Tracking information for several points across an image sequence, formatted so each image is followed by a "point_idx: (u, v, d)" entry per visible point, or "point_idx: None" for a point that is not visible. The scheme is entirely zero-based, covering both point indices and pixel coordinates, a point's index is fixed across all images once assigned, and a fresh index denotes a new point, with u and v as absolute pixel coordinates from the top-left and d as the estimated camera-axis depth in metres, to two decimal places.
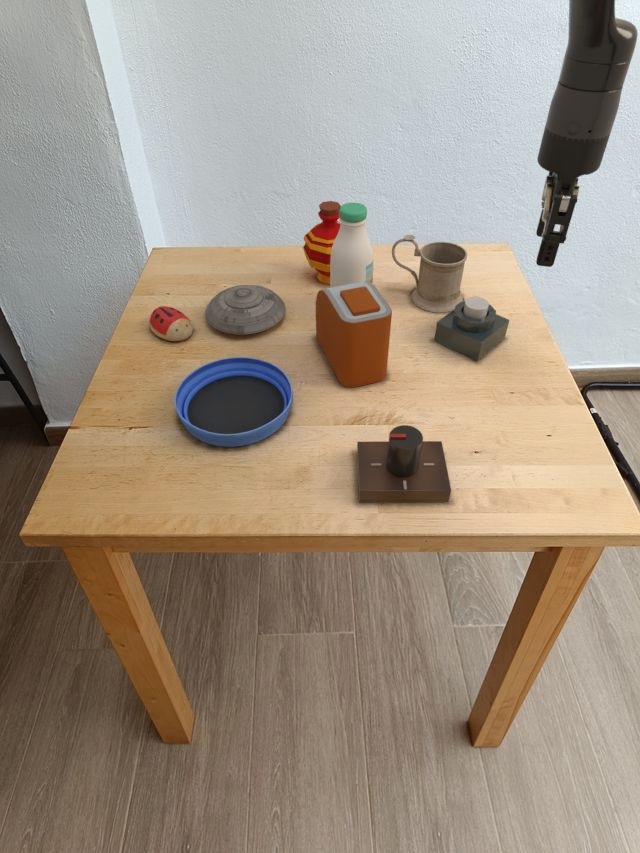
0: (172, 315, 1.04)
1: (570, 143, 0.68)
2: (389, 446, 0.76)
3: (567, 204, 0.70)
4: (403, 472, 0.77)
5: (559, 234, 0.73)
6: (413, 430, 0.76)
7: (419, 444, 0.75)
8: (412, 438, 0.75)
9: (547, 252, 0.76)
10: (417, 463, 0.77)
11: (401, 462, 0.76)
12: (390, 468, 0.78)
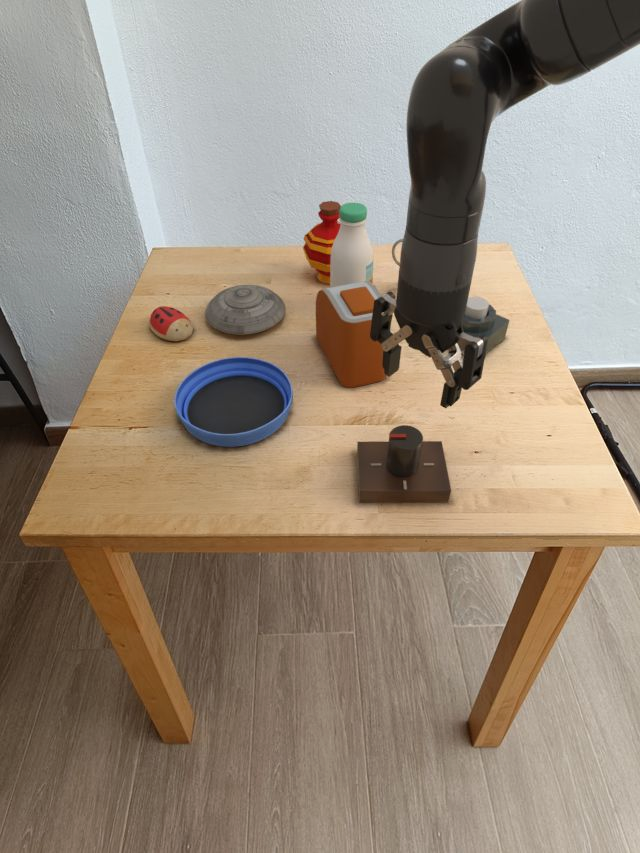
0: (172, 315, 1.04)
1: (459, 293, 0.58)
2: (389, 446, 0.76)
3: (482, 347, 0.61)
4: (403, 472, 0.77)
5: (475, 374, 0.64)
6: (413, 430, 0.76)
7: (419, 444, 0.75)
8: (412, 438, 0.75)
9: (457, 393, 0.67)
10: (417, 463, 0.77)
11: (401, 462, 0.76)
12: (390, 468, 0.78)
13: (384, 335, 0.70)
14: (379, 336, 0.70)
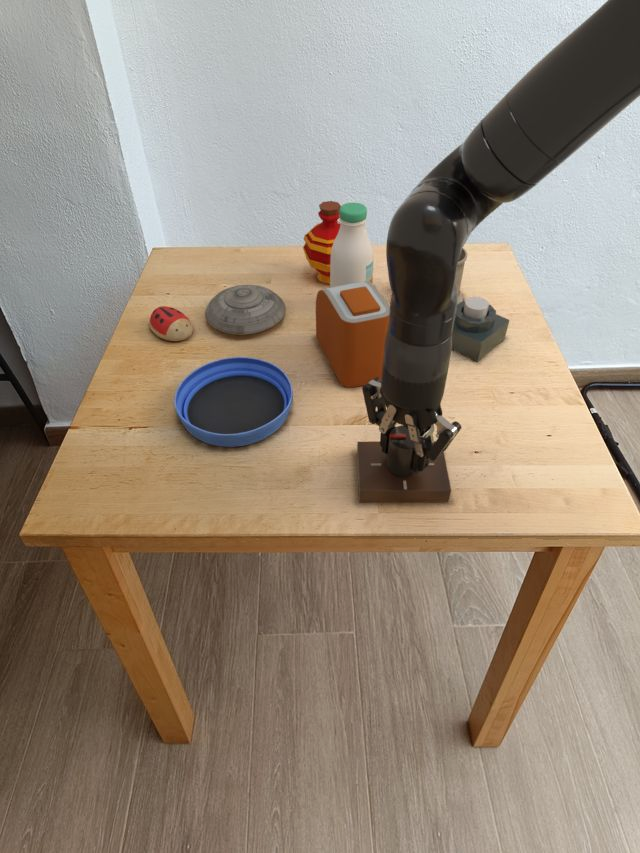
0: (172, 315, 1.04)
1: (437, 383, 0.65)
2: (389, 446, 0.76)
3: (455, 434, 0.69)
4: (403, 472, 0.77)
5: None
6: None
7: None
8: None
9: (426, 461, 0.75)
10: None
11: (401, 462, 0.76)
12: (390, 468, 0.78)
13: (381, 419, 0.77)
14: (377, 420, 0.77)
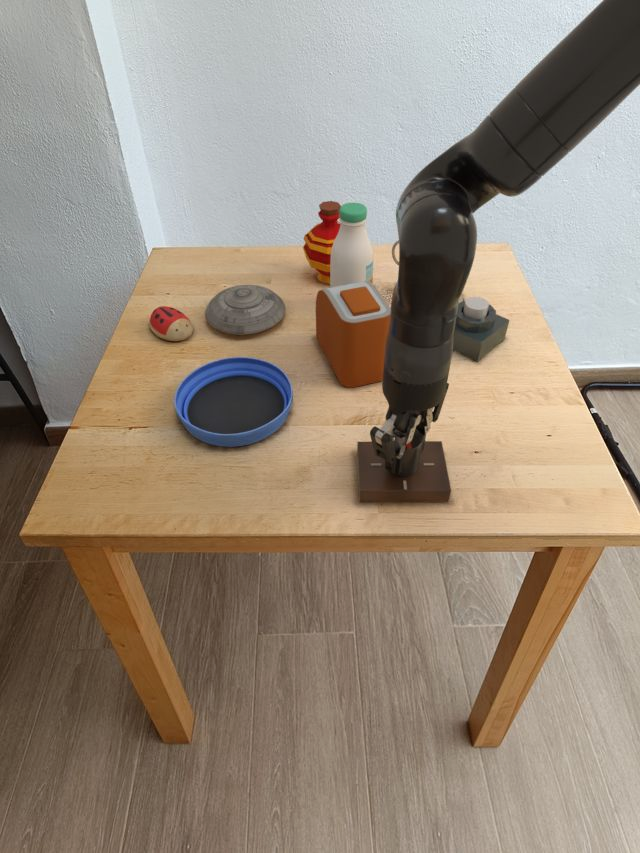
0: (172, 315, 1.04)
1: None
2: (412, 455, 0.75)
3: None
4: None
5: None
6: None
7: None
8: None
9: None
10: None
11: None
12: (415, 469, 0.78)
13: None
14: None
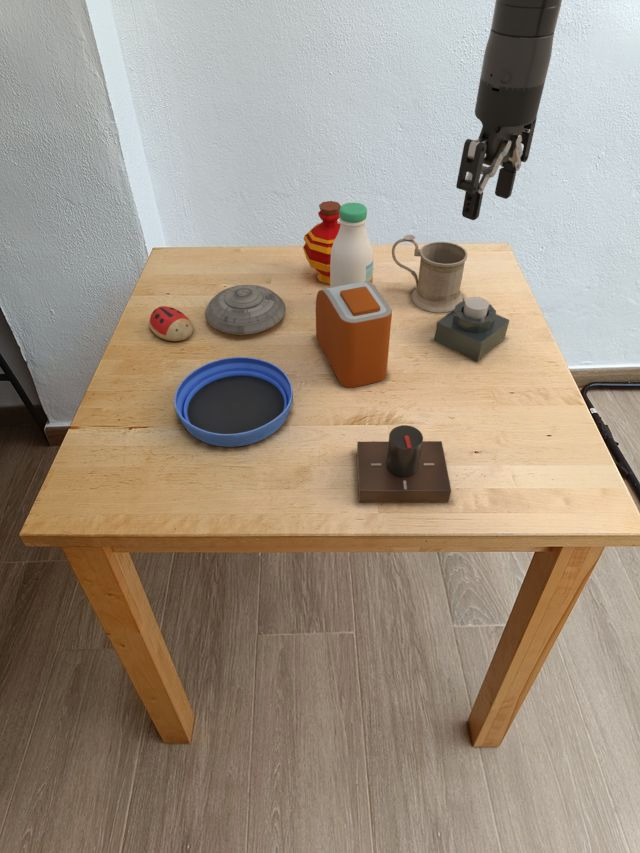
0: (172, 315, 1.04)
1: None
2: (412, 455, 0.75)
3: None
4: None
5: None
6: (396, 431, 0.76)
7: (413, 427, 0.77)
8: (407, 432, 0.76)
9: None
10: None
11: None
12: (415, 469, 0.78)
13: None
14: None
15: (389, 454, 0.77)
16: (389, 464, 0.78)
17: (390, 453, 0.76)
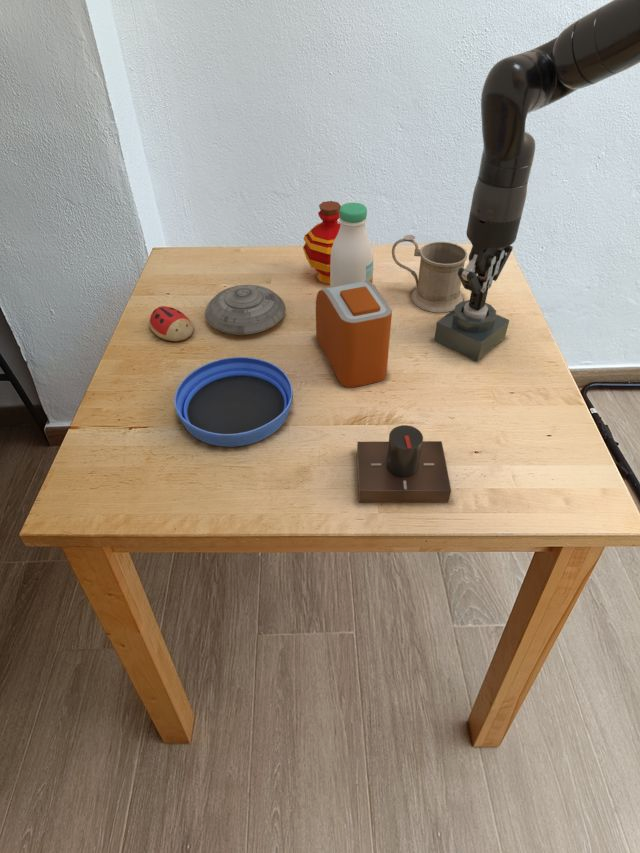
0: (172, 315, 1.04)
1: None
2: (412, 455, 0.75)
3: None
4: None
5: None
6: (396, 431, 0.76)
7: (413, 427, 0.77)
8: (407, 432, 0.76)
9: None
10: None
11: None
12: (415, 469, 0.78)
13: None
14: None
15: (389, 454, 0.77)
16: (389, 464, 0.78)
17: (390, 453, 0.76)
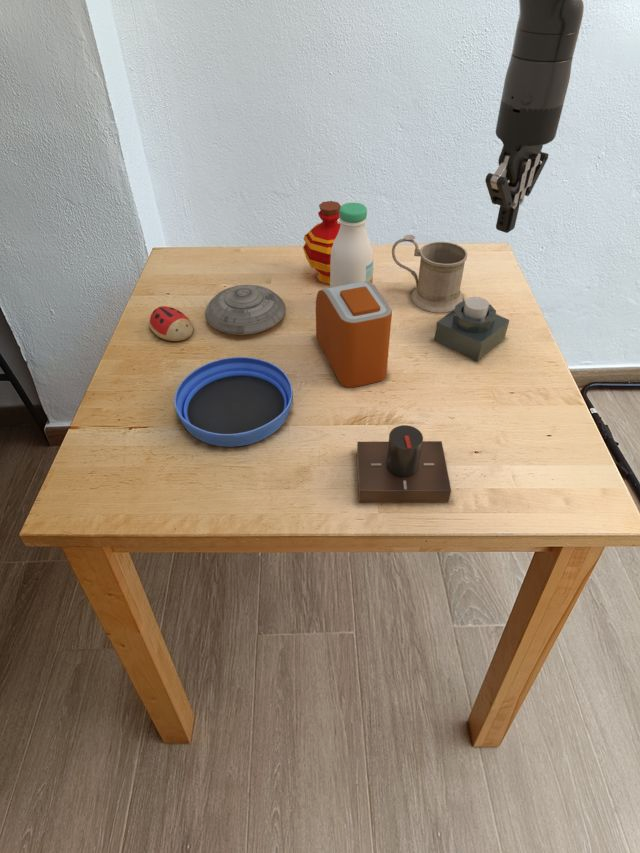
0: (172, 315, 1.04)
1: None
2: (412, 455, 0.75)
3: None
4: None
5: None
6: (396, 431, 0.76)
7: (413, 427, 0.77)
8: (407, 432, 0.76)
9: None
10: None
11: None
12: (415, 469, 0.78)
13: None
14: None
15: (389, 454, 0.77)
16: (389, 464, 0.78)
17: (390, 453, 0.76)
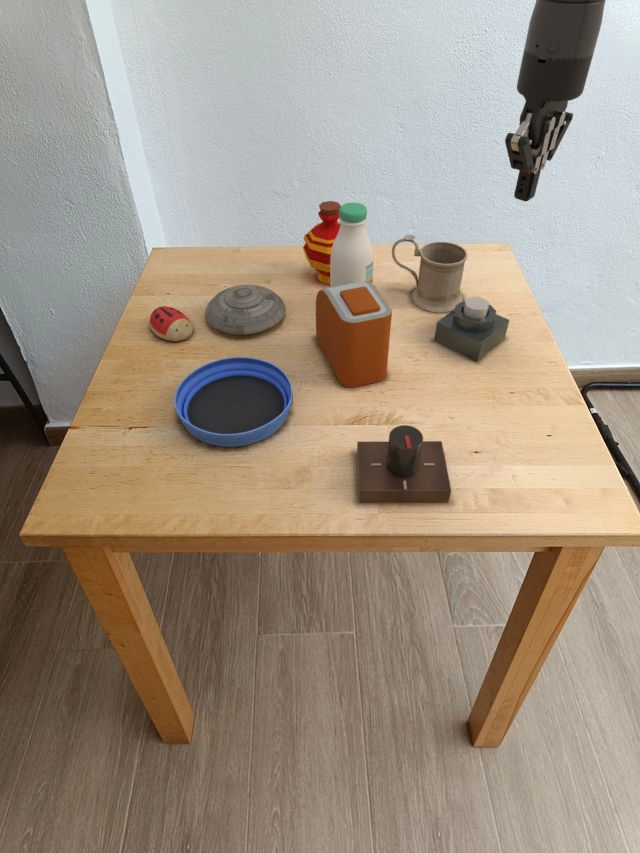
0: (172, 315, 1.04)
1: None
2: (412, 455, 0.75)
3: None
4: None
5: None
6: (396, 431, 0.76)
7: (413, 427, 0.77)
8: (407, 432, 0.76)
9: None
10: None
11: None
12: (415, 469, 0.78)
13: None
14: None
15: (389, 454, 0.77)
16: (389, 464, 0.78)
17: (390, 453, 0.76)
